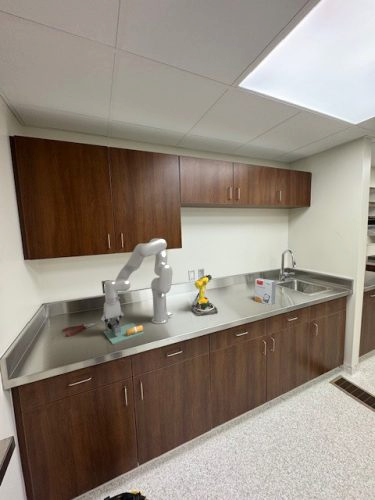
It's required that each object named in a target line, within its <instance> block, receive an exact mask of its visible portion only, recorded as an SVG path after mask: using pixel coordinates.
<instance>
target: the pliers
mask: <svg viewBox="0 0 375 500" xmlns="http://www.w3.org/2000/svg"><path fill="white" fill-rule="evenodd" d="M96 325H97V324H96V323H95V322H92V323H91V322H90V323H87V324H80V325H74V326H69V327H65V328H63V329H62V330H61V331H62V333H65V332H67V333H66V334H65V337H66V338H68V337H72V336H75V335H77V334H78V333H80V332H82V331H83V330H87V329H88V328H91V327H94V326H96ZM72 330H73V331H72ZM68 331H70V332H68Z"/></svg>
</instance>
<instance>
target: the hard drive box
mask: <svg viewBox="0 0 375 500" xmlns="http://www.w3.org/2000/svg"><path fill="white" fill-rule="evenodd" d="M254 302H257V303H261V304H265V305H269V306H272V305H275V304H276V280H273V279H268V278H267V279H265V278H260V277H258V278H255V279H254Z"/></svg>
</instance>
